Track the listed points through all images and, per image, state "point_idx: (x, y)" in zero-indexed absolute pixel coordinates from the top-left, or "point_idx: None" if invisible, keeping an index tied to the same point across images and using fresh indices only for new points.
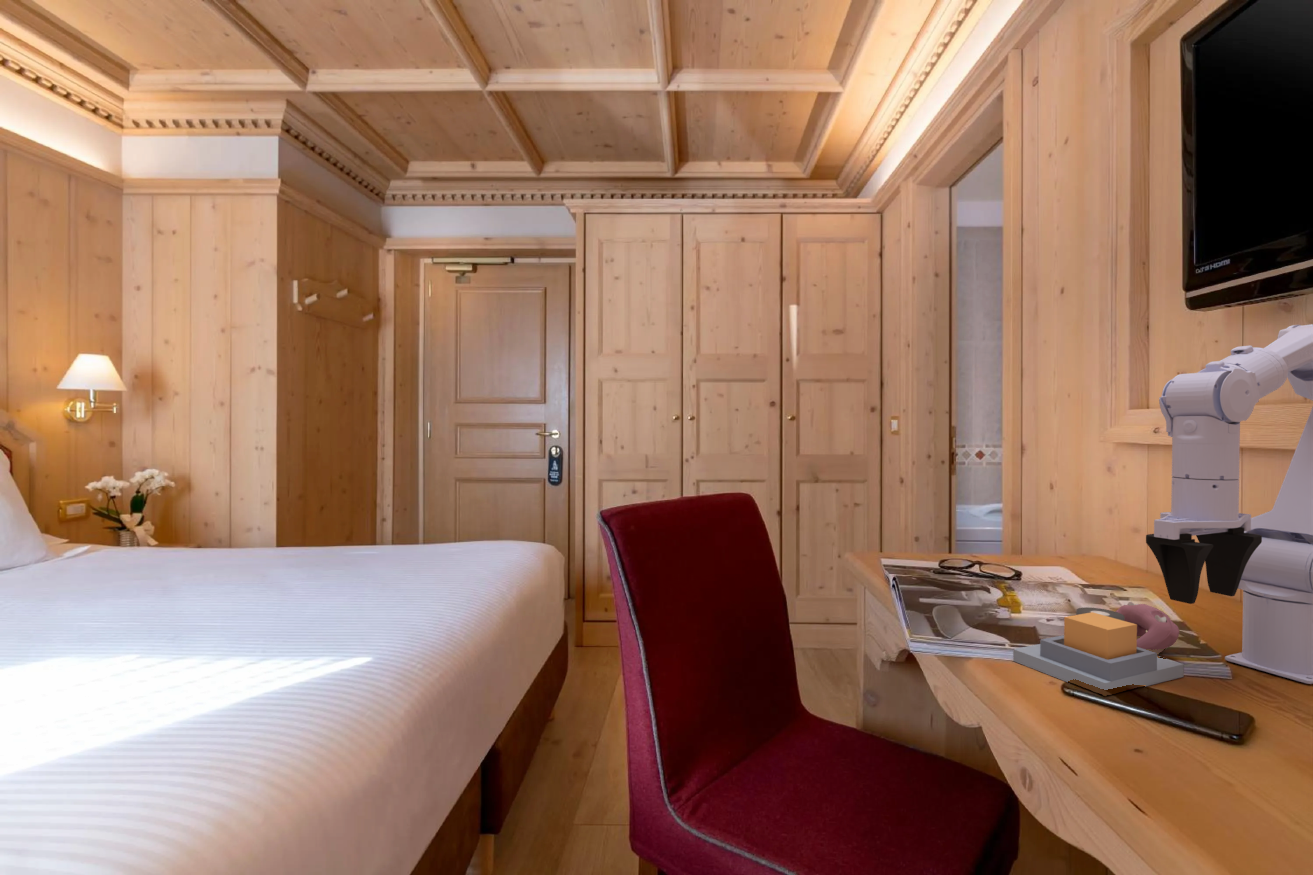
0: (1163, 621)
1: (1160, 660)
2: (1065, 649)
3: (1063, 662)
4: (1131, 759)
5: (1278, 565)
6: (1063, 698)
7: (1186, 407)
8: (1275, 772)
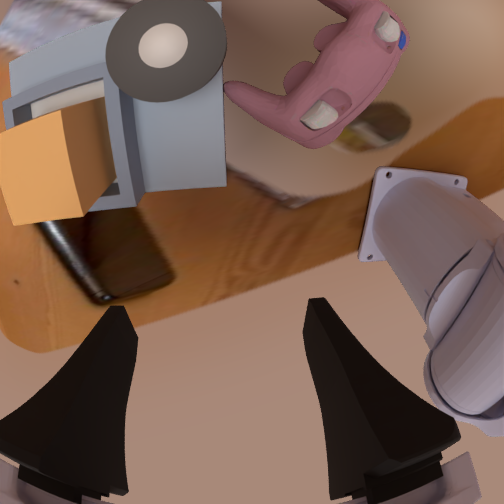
0: (310, 125)
1: (203, 159)
2: None
3: None
4: (7, 287)
5: (465, 360)
6: None
7: None
8: (88, 329)
